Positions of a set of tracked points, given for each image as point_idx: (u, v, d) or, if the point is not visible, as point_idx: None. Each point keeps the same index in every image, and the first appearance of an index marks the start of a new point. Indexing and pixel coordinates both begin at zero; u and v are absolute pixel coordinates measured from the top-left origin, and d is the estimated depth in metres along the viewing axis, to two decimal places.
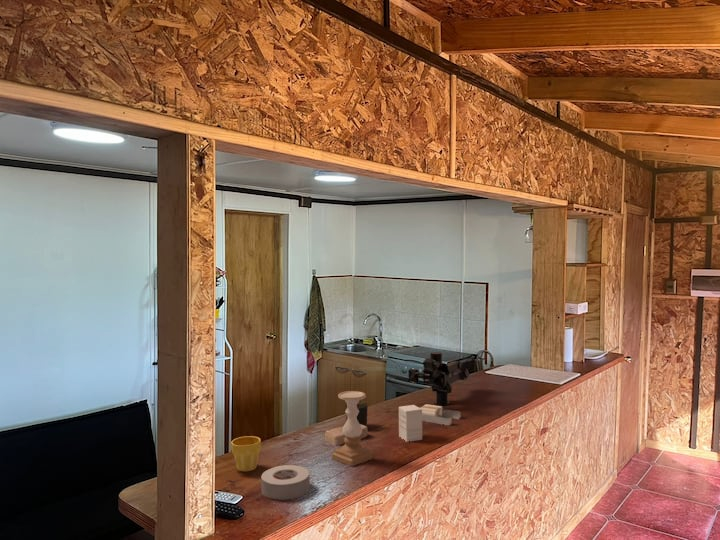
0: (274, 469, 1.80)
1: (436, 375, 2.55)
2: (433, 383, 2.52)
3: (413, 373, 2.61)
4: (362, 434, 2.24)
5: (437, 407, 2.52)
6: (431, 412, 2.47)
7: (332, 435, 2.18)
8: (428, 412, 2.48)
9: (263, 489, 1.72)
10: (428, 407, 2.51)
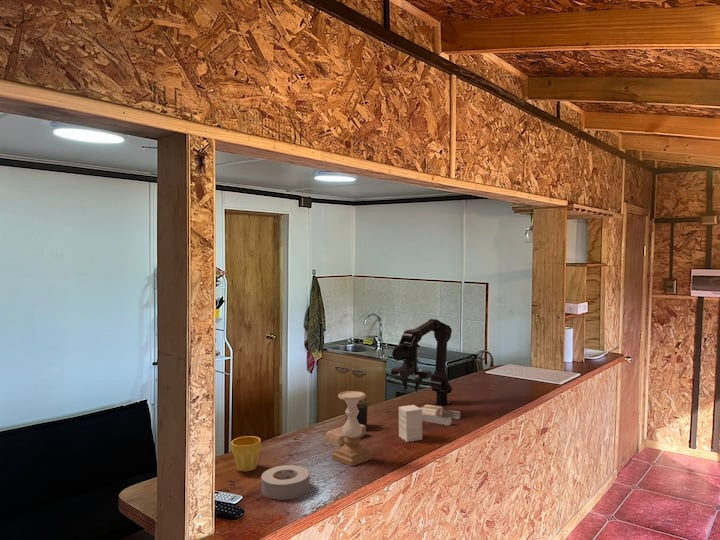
0: (274, 469, 1.80)
1: (416, 380, 2.53)
2: (419, 385, 2.56)
3: (401, 378, 2.57)
4: (361, 433, 2.26)
5: (437, 407, 2.51)
6: (431, 412, 2.47)
7: (335, 436, 2.17)
8: (428, 412, 2.48)
9: (263, 489, 1.72)
10: (428, 408, 2.51)
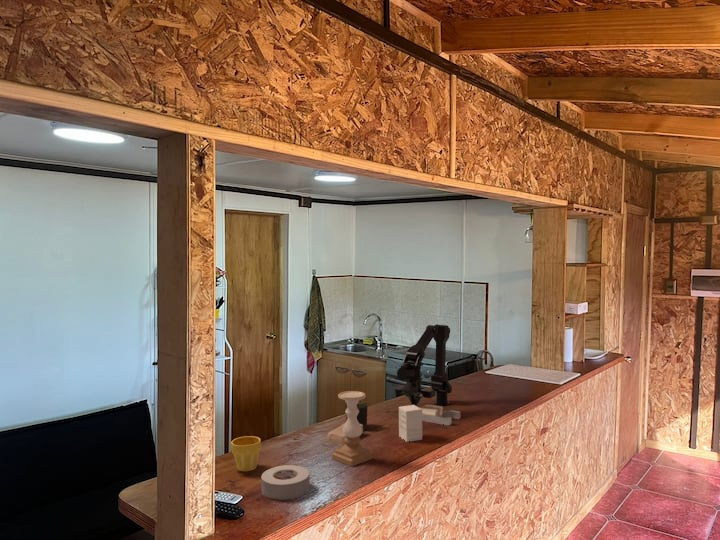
0: (274, 469, 1.80)
1: (415, 398, 2.53)
2: (418, 403, 2.56)
3: (410, 398, 2.55)
4: None
5: (437, 407, 2.51)
6: (431, 412, 2.47)
7: (338, 436, 2.16)
8: (428, 412, 2.48)
9: (263, 489, 1.72)
10: (428, 408, 2.51)
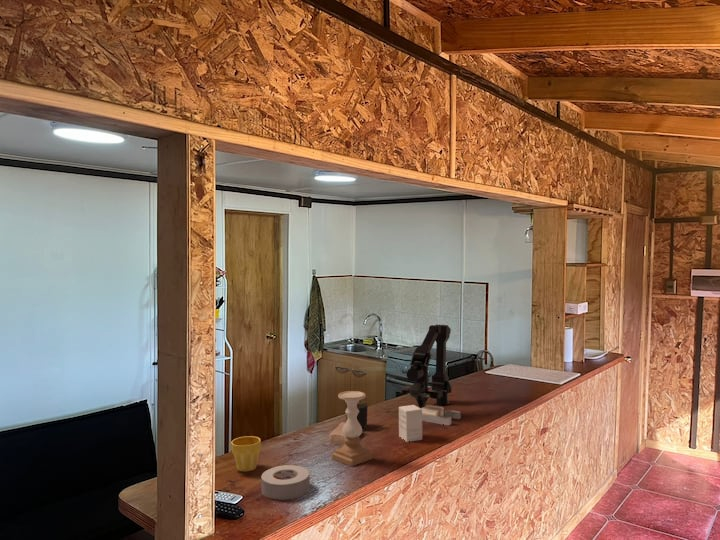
0: (274, 469, 1.80)
1: (422, 399, 2.51)
2: (425, 403, 2.54)
3: (417, 399, 2.53)
4: None
5: (438, 408, 2.51)
6: (432, 413, 2.47)
7: (341, 436, 2.16)
8: (429, 413, 2.47)
9: (263, 489, 1.72)
10: (429, 408, 2.51)
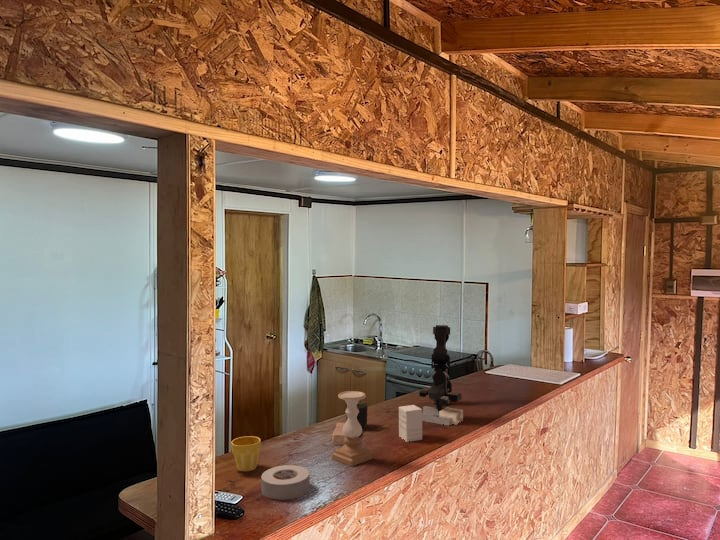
0: (274, 469, 1.80)
1: (441, 402, 2.46)
2: (443, 406, 2.49)
3: (435, 401, 2.48)
4: None
5: (458, 410, 2.46)
6: (452, 415, 2.42)
7: (345, 436, 2.16)
8: (449, 415, 2.42)
9: (263, 489, 1.72)
10: (448, 411, 2.46)
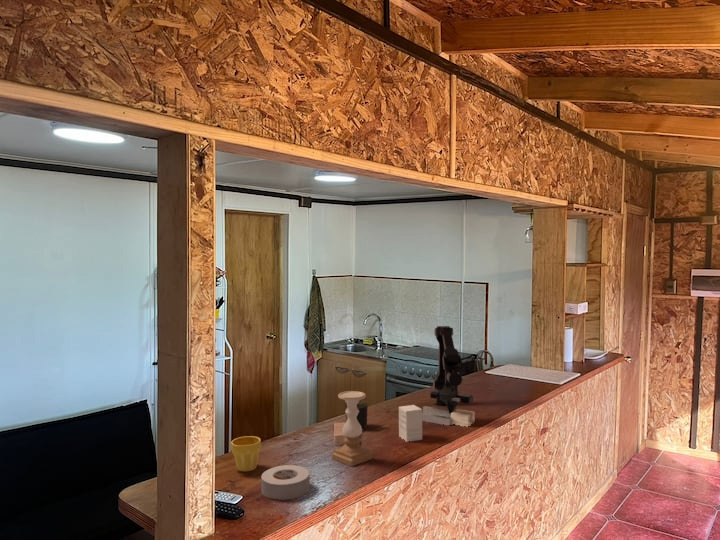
0: (274, 469, 1.80)
1: (452, 403, 2.43)
2: (454, 408, 2.46)
3: (446, 403, 2.45)
4: None
5: (469, 412, 2.43)
6: (464, 417, 2.39)
7: None
8: (461, 417, 2.40)
9: (263, 489, 1.72)
10: (460, 412, 2.43)
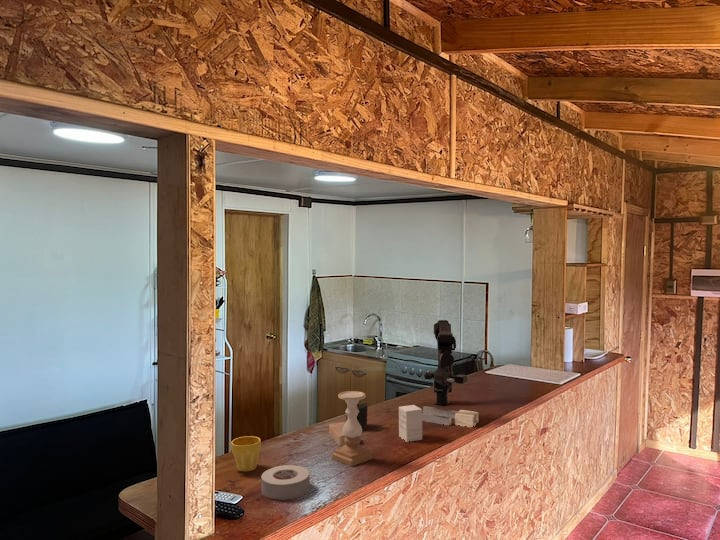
0: (274, 469, 1.80)
1: (446, 384, 2.45)
2: (449, 389, 2.48)
3: (441, 384, 2.47)
4: None
5: (473, 413, 2.42)
6: (468, 418, 2.38)
7: None
8: (465, 418, 2.39)
9: (263, 489, 1.72)
10: (464, 413, 2.42)
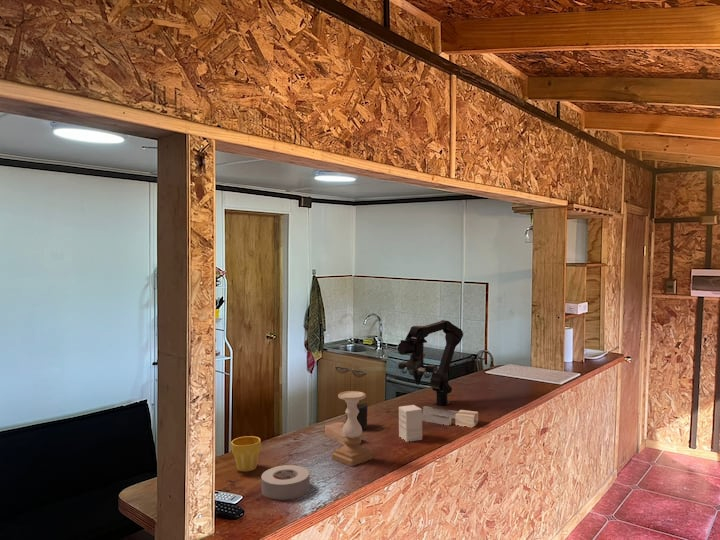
0: (274, 469, 1.80)
1: (418, 373, 2.62)
2: None
3: (413, 373, 2.64)
4: None
5: (473, 412, 2.43)
6: (469, 418, 2.38)
7: None
8: (466, 418, 2.38)
9: (263, 489, 1.72)
10: (464, 413, 2.42)
